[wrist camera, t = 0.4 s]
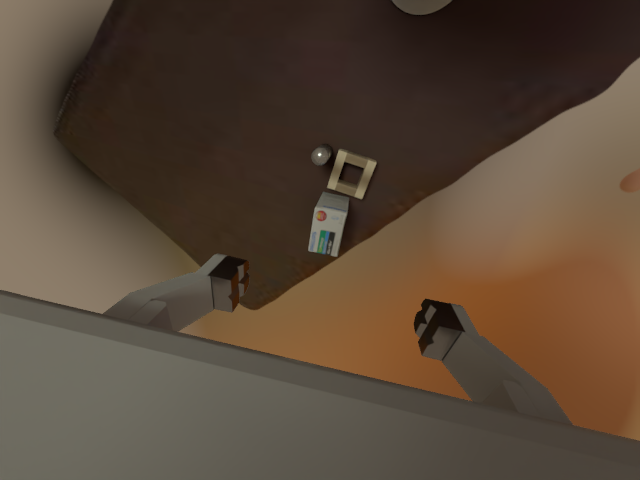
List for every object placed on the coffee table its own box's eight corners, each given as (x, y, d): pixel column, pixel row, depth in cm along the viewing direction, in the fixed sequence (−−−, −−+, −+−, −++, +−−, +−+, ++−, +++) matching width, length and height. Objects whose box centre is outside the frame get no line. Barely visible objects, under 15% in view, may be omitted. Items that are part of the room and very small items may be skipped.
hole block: (340, 148, 48) (338, 150, 45) (375, 160, 48) (376, 162, 45) (328, 183, 52) (327, 187, 49) (361, 194, 52) (361, 199, 49)
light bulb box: (341, 236, 58) (337, 258, 49) (315, 230, 59) (307, 252, 49) (350, 196, 53) (348, 212, 44) (321, 190, 53) (314, 205, 44)
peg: (320, 141, 48) (314, 145, 40) (334, 146, 48) (329, 151, 41) (317, 155, 50) (309, 162, 42) (330, 160, 50) (325, 167, 42)
